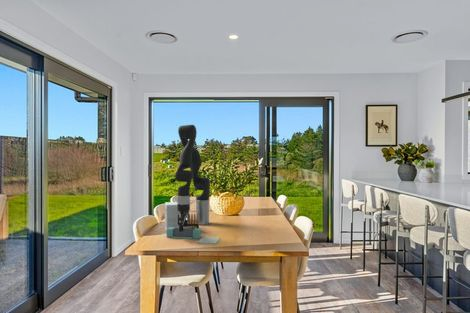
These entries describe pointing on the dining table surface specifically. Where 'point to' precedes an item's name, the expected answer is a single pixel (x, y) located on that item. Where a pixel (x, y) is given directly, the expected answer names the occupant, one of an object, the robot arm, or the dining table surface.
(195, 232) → the clamp
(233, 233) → the dining table surface
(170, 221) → the supplement box
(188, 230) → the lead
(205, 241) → the mat
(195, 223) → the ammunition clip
